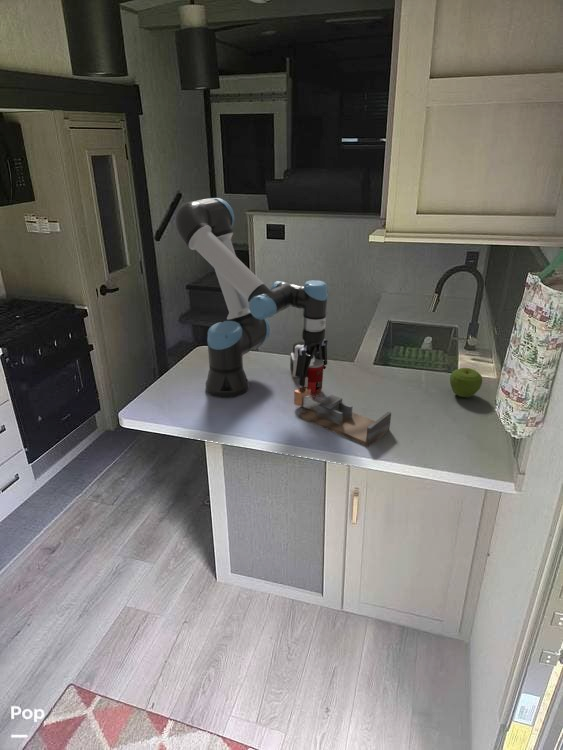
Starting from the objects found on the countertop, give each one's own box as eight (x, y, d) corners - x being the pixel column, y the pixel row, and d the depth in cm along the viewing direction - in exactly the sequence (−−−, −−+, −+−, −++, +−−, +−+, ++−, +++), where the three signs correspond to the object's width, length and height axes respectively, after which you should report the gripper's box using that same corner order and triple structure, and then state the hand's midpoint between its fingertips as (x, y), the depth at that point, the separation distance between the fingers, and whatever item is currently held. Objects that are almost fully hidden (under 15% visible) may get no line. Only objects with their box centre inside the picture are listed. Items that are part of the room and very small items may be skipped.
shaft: (294, 403, 171) (294, 391, 169) (303, 398, 174) (303, 386, 172) (331, 419, 162) (331, 405, 160) (339, 413, 165) (340, 400, 163)
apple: (448, 386, 186) (452, 361, 182) (479, 391, 183) (484, 365, 179) (446, 399, 177) (450, 373, 173) (478, 405, 174) (483, 378, 169)
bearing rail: (299, 417, 166) (299, 399, 163) (321, 403, 174) (322, 386, 172) (368, 446, 151) (370, 427, 148) (389, 430, 159) (391, 411, 156)
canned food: (320, 396, 177) (322, 367, 172) (297, 393, 178) (298, 364, 173) (323, 386, 184) (325, 357, 179) (301, 383, 185) (302, 355, 180)
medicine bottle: (290, 369, 199) (290, 340, 193) (308, 368, 199) (309, 339, 194) (292, 377, 192) (293, 347, 187) (311, 376, 193) (312, 347, 188)
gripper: (303, 339, 162) (300, 403, 172) (341, 322, 176) (336, 382, 186) (285, 333, 166) (283, 395, 176) (323, 317, 180) (319, 376, 190)
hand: (310, 388), depth 181 cm, fingers closed on canned food, 8 cm apart
